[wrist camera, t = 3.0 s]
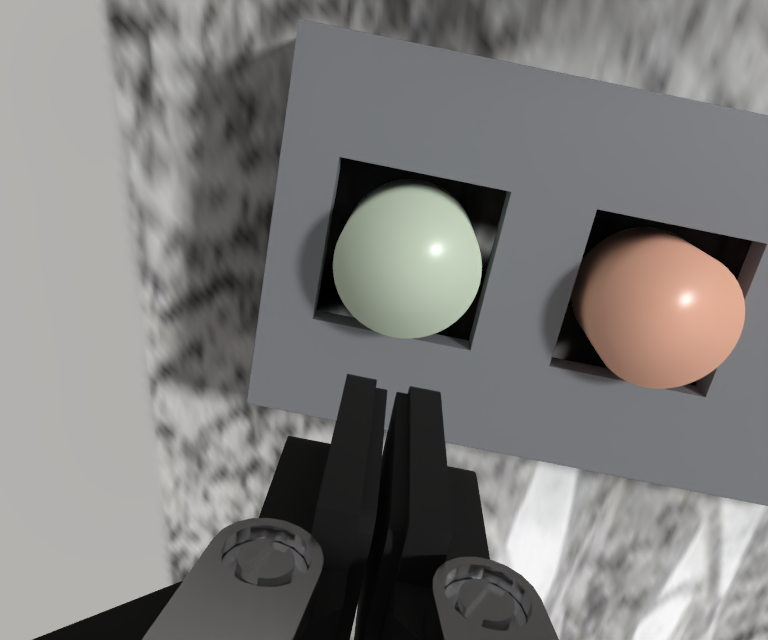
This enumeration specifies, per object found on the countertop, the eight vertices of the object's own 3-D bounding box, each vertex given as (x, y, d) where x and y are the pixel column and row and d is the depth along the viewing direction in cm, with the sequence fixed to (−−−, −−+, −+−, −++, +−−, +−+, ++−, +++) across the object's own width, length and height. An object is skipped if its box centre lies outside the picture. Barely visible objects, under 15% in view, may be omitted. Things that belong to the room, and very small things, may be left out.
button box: (1014, 172, 27) (1142, 192, 22) (861, 470, 31) (939, 539, 27) (320, 29, 26) (298, 19, 21) (273, 353, 31) (246, 403, 26)
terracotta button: (723, 241, 25) (768, 266, 22) (677, 361, 27) (713, 401, 23) (592, 215, 25) (618, 235, 22) (555, 337, 27) (574, 373, 23)
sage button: (488, 193, 25) (498, 211, 22) (457, 317, 27) (463, 351, 23) (356, 167, 25) (346, 180, 22) (334, 292, 27) (322, 323, 23)
